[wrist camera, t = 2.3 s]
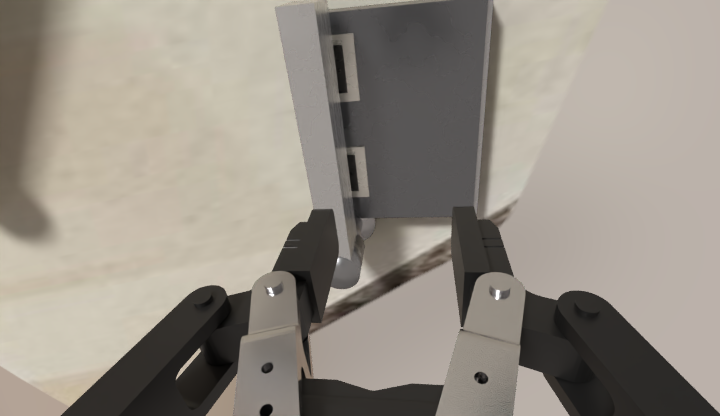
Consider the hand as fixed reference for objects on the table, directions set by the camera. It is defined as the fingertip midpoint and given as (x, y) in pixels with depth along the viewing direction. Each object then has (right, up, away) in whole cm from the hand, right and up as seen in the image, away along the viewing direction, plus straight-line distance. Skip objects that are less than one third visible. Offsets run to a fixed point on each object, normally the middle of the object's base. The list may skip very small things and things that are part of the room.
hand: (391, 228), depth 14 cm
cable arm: (-3, +5, +18) cm, 19 cm away
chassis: (+2, +9, +20) cm, 22 cm away
